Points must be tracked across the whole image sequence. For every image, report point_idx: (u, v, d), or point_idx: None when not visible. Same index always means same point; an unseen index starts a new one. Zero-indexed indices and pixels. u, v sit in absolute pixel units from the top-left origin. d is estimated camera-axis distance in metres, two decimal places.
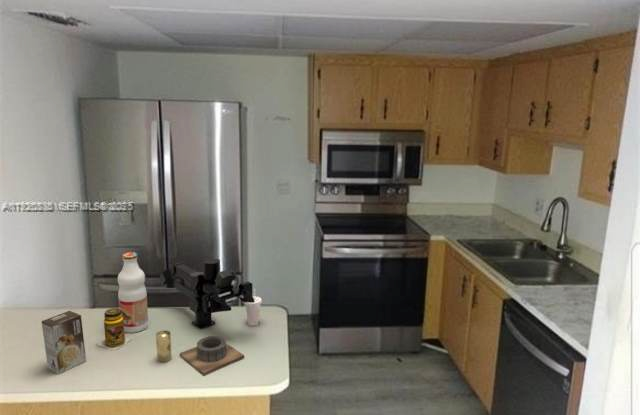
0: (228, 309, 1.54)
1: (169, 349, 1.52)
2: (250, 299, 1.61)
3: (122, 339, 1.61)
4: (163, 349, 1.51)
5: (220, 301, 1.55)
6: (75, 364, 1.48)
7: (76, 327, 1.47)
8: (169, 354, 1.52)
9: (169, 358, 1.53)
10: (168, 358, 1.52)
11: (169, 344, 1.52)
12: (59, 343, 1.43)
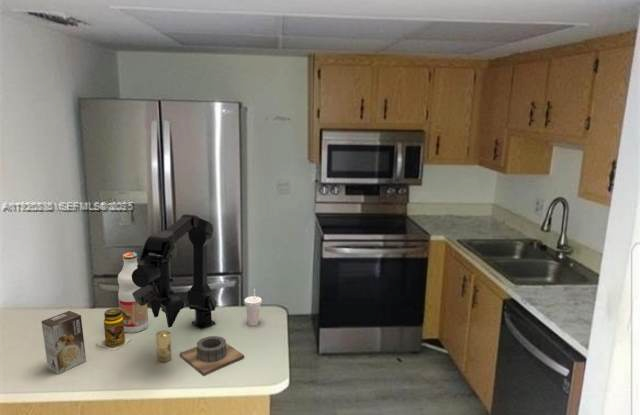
0: None
1: (169, 349, 1.52)
2: None
3: (122, 339, 1.61)
4: (163, 349, 1.51)
5: (150, 304, 1.53)
6: (75, 364, 1.48)
7: (76, 327, 1.47)
8: (169, 354, 1.52)
9: (169, 358, 1.53)
10: (168, 358, 1.52)
11: (169, 344, 1.52)
12: (59, 343, 1.43)
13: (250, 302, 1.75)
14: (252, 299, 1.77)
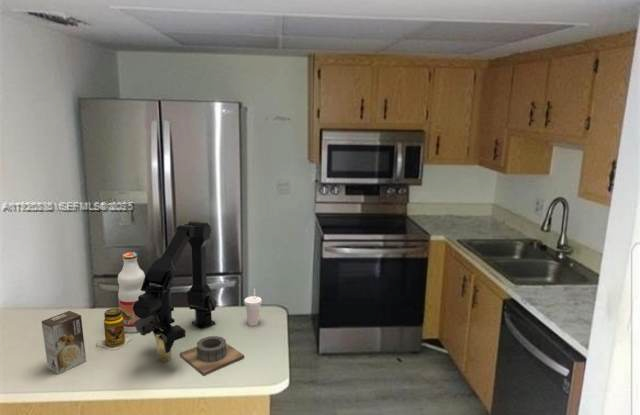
0: None
1: None
2: None
3: (122, 339, 1.61)
4: (163, 348, 1.51)
5: (154, 334, 1.53)
6: (75, 364, 1.48)
7: (76, 327, 1.47)
8: (169, 354, 1.52)
9: (169, 358, 1.53)
10: (168, 358, 1.52)
11: None
12: (59, 343, 1.43)
13: (250, 302, 1.75)
14: (252, 299, 1.77)
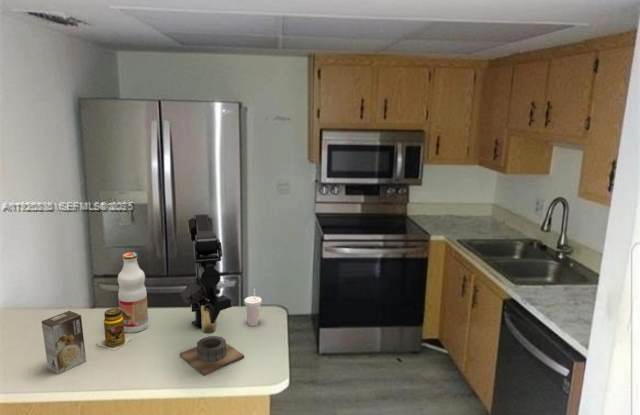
0: None
1: None
2: None
3: (122, 339, 1.61)
4: (209, 319, 1.50)
5: (199, 305, 1.53)
6: (75, 364, 1.48)
7: (76, 327, 1.47)
8: (214, 325, 1.52)
9: (214, 329, 1.52)
10: (213, 329, 1.52)
11: None
12: (59, 343, 1.43)
13: (250, 302, 1.75)
14: (252, 299, 1.77)
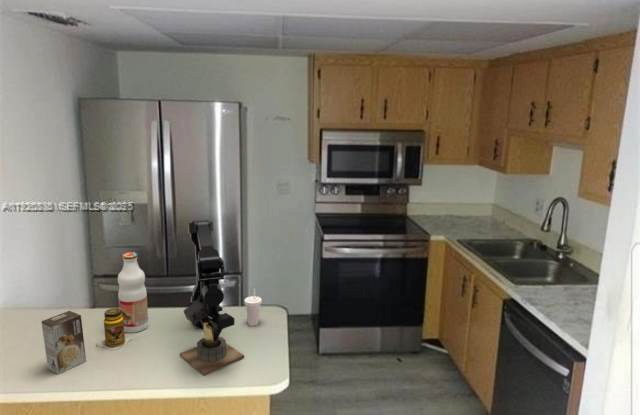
0: None
1: None
2: None
3: (122, 339, 1.61)
4: (211, 337, 1.52)
5: (201, 322, 1.55)
6: (75, 364, 1.48)
7: (76, 327, 1.47)
8: (216, 342, 1.54)
9: (216, 346, 1.54)
10: (215, 346, 1.53)
11: None
12: (59, 343, 1.43)
13: (250, 302, 1.75)
14: (252, 299, 1.77)
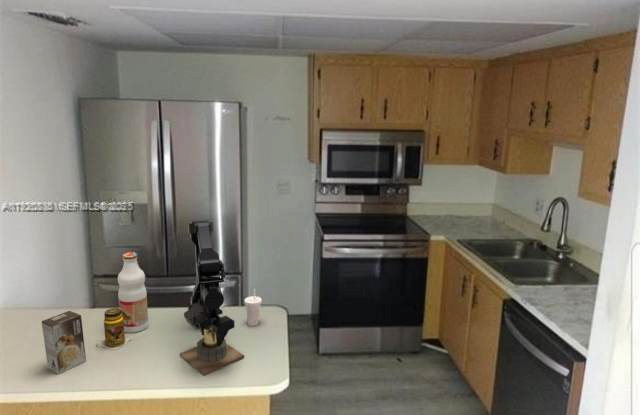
0: None
1: None
2: None
3: (122, 339, 1.61)
4: (211, 344, 1.52)
5: None
6: (75, 364, 1.48)
7: (76, 327, 1.47)
8: None
9: None
10: None
11: None
12: (59, 343, 1.43)
13: (250, 302, 1.75)
14: (252, 299, 1.77)
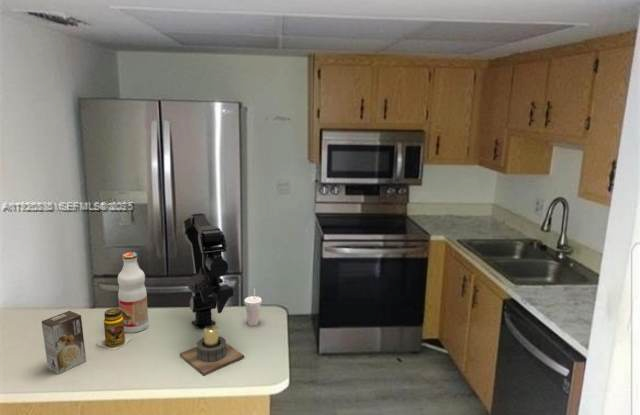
0: None
1: (217, 344, 1.54)
2: None
3: (122, 339, 1.61)
4: (211, 344, 1.52)
5: (200, 291, 1.64)
6: (75, 364, 1.48)
7: (76, 327, 1.47)
8: None
9: None
10: None
11: (217, 339, 1.54)
12: (59, 343, 1.43)
13: (250, 302, 1.75)
14: (252, 299, 1.77)
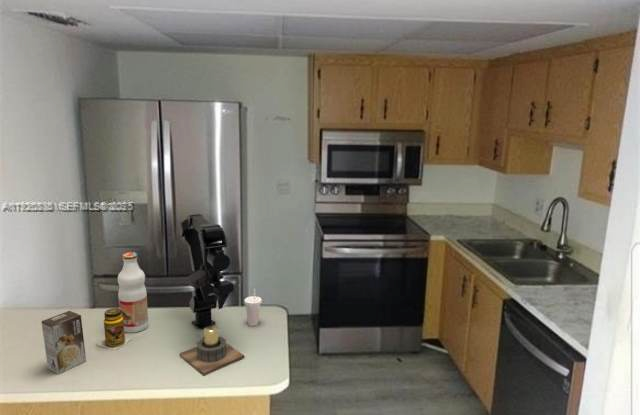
0: None
1: (217, 344, 1.54)
2: None
3: (122, 339, 1.61)
4: (211, 344, 1.52)
5: (200, 288, 1.66)
6: (75, 364, 1.48)
7: (76, 327, 1.47)
8: None
9: None
10: None
11: (217, 339, 1.54)
12: (59, 343, 1.43)
13: (250, 302, 1.75)
14: (252, 299, 1.77)
